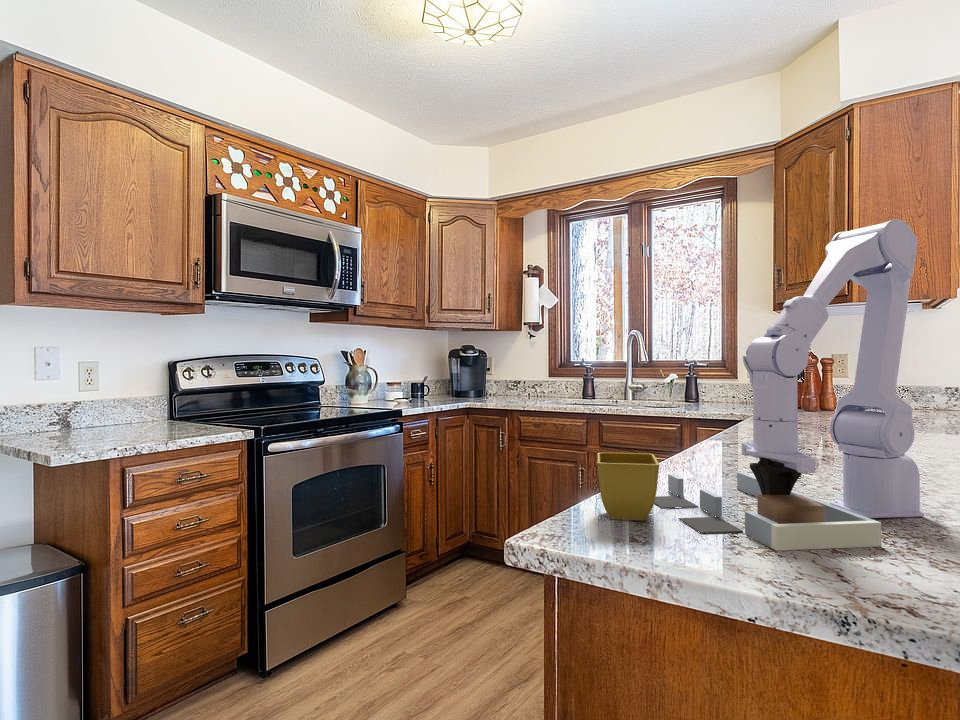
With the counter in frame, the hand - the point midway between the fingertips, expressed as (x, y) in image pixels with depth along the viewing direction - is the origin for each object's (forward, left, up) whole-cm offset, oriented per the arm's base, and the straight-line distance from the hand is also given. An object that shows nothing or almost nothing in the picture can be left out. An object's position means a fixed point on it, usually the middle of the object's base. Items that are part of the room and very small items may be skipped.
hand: (775, 513), depth 82 cm
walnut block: (+1, +5, -1) cm, 5 cm away
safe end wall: (0, +11, -1) cm, 11 cm away
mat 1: (+10, -13, -1) cm, 16 cm away
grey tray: (0, -6, -1) cm, 6 cm away
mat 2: (+10, 0, -1) cm, 10 cm away
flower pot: (+20, -6, -2) cm, 21 cm away
